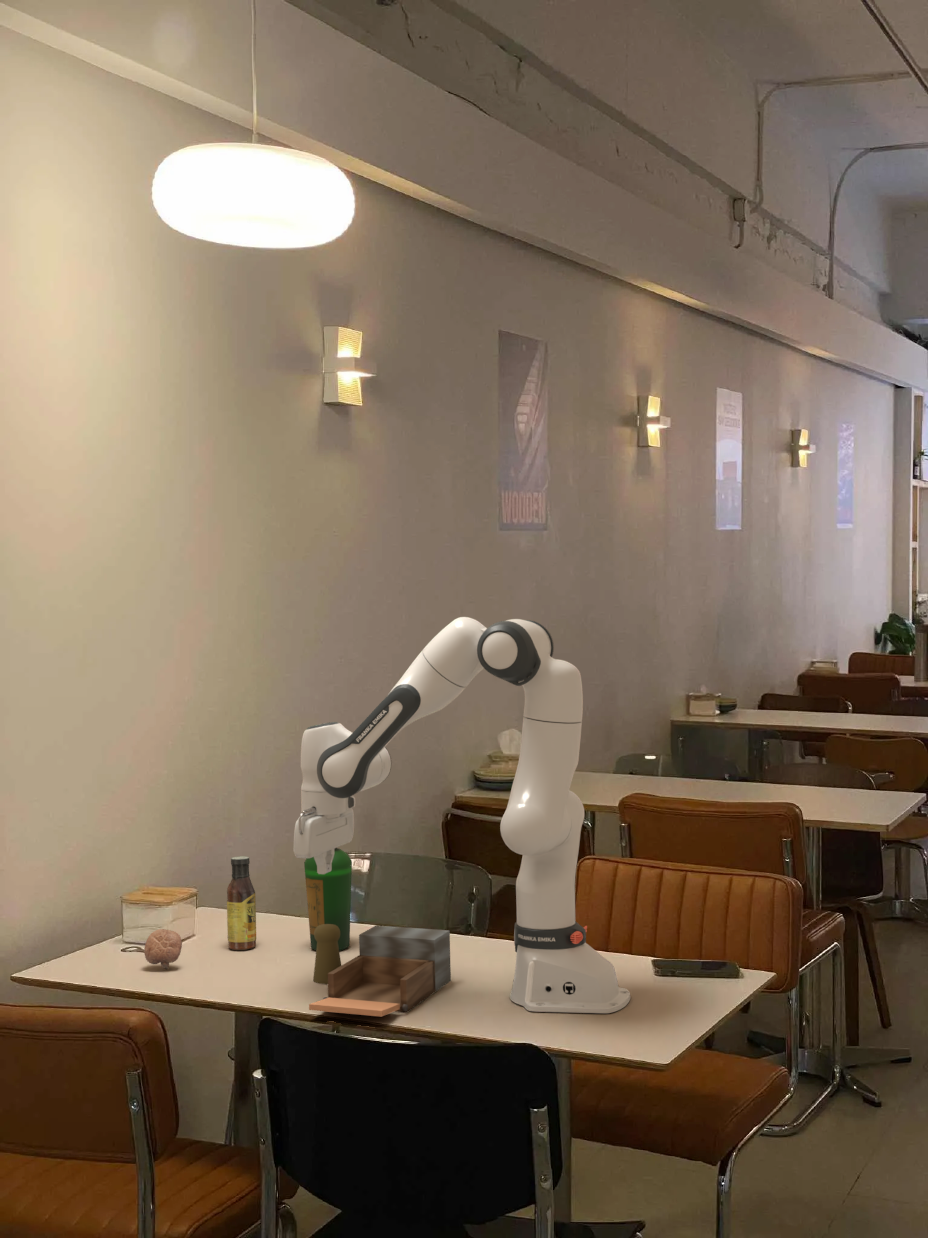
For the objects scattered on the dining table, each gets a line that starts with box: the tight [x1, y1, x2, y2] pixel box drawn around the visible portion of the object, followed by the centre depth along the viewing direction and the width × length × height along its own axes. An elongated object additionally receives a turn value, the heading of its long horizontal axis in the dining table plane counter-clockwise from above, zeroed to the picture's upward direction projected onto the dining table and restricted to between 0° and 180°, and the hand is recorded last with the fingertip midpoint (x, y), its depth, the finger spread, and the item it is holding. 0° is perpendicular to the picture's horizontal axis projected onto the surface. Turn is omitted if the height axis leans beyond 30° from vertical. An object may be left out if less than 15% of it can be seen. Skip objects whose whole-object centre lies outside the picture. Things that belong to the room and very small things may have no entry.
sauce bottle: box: [226, 855, 257, 951], centre depth 305 cm, size 7×6×20 cm
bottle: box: [304, 847, 353, 952], centre depth 303 cm, size 11×11×28 cm
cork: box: [312, 924, 342, 985], centre depth 278 cm, size 6×6×11 cm
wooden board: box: [308, 997, 400, 1017], centre depth 252 cm, size 14×1×8 cm
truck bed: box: [322, 925, 452, 1014], centre depth 267 cm, size 17×24×10 cm
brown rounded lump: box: [143, 928, 183, 970], centre depth 289 cm, size 8×6×8 cm
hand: (324, 873), depth 277 cm, fingers closed
